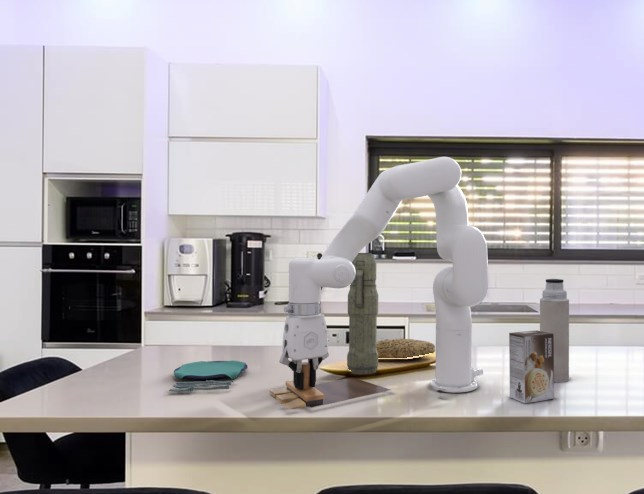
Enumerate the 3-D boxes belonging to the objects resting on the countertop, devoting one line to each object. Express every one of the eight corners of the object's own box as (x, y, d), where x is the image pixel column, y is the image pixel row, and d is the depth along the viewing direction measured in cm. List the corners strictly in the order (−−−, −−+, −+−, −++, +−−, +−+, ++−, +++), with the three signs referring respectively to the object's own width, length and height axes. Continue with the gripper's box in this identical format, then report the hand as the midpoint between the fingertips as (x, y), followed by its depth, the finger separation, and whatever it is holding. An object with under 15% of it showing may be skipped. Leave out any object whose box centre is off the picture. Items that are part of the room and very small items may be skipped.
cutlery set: (252, 366, 170) (252, 358, 170) (236, 392, 140) (236, 383, 140) (183, 368, 167) (183, 360, 167) (152, 395, 137) (152, 386, 137)
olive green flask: (344, 379, 154) (345, 253, 154) (349, 369, 166) (350, 252, 166) (376, 379, 154) (377, 253, 155) (379, 369, 166) (379, 252, 166)
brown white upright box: (537, 392, 141) (537, 329, 141) (554, 399, 135) (555, 333, 136) (508, 397, 137) (508, 332, 137) (524, 404, 131) (525, 336, 131)
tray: (352, 380, 153) (352, 377, 153) (391, 393, 140) (391, 389, 140) (276, 395, 137) (276, 391, 137) (311, 411, 125) (311, 407, 125)
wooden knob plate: (302, 387, 139) (302, 356, 139) (324, 404, 127) (325, 369, 127) (285, 390, 137) (285, 358, 137) (306, 406, 125) (306, 371, 125)
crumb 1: (285, 391, 137) (285, 387, 137) (291, 395, 134) (291, 391, 134) (269, 394, 135) (269, 389, 135) (274, 398, 132) (274, 393, 132)
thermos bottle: (545, 373, 162) (545, 277, 162) (572, 377, 157) (572, 278, 157) (535, 379, 155) (535, 279, 155) (563, 383, 151) (564, 280, 151)
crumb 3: (300, 401, 129) (299, 397, 128) (306, 406, 125) (305, 402, 125) (283, 408, 127) (282, 404, 126) (289, 413, 123) (288, 409, 123)
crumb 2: (292, 396, 133) (292, 392, 133) (298, 400, 130) (298, 396, 130) (276, 399, 131) (276, 395, 131) (281, 404, 127) (281, 399, 127)
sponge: (371, 367, 175) (433, 355, 172) (367, 342, 176) (428, 330, 174) (380, 365, 187) (437, 355, 185) (376, 342, 189) (433, 331, 187)
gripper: (281, 314, 124) (281, 396, 124) (342, 308, 134) (342, 384, 134) (266, 311, 129) (266, 390, 129) (325, 305, 140) (325, 378, 140)
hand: (304, 386), depth 132 cm, fingers closed on wooden knob plate, 2 cm apart
